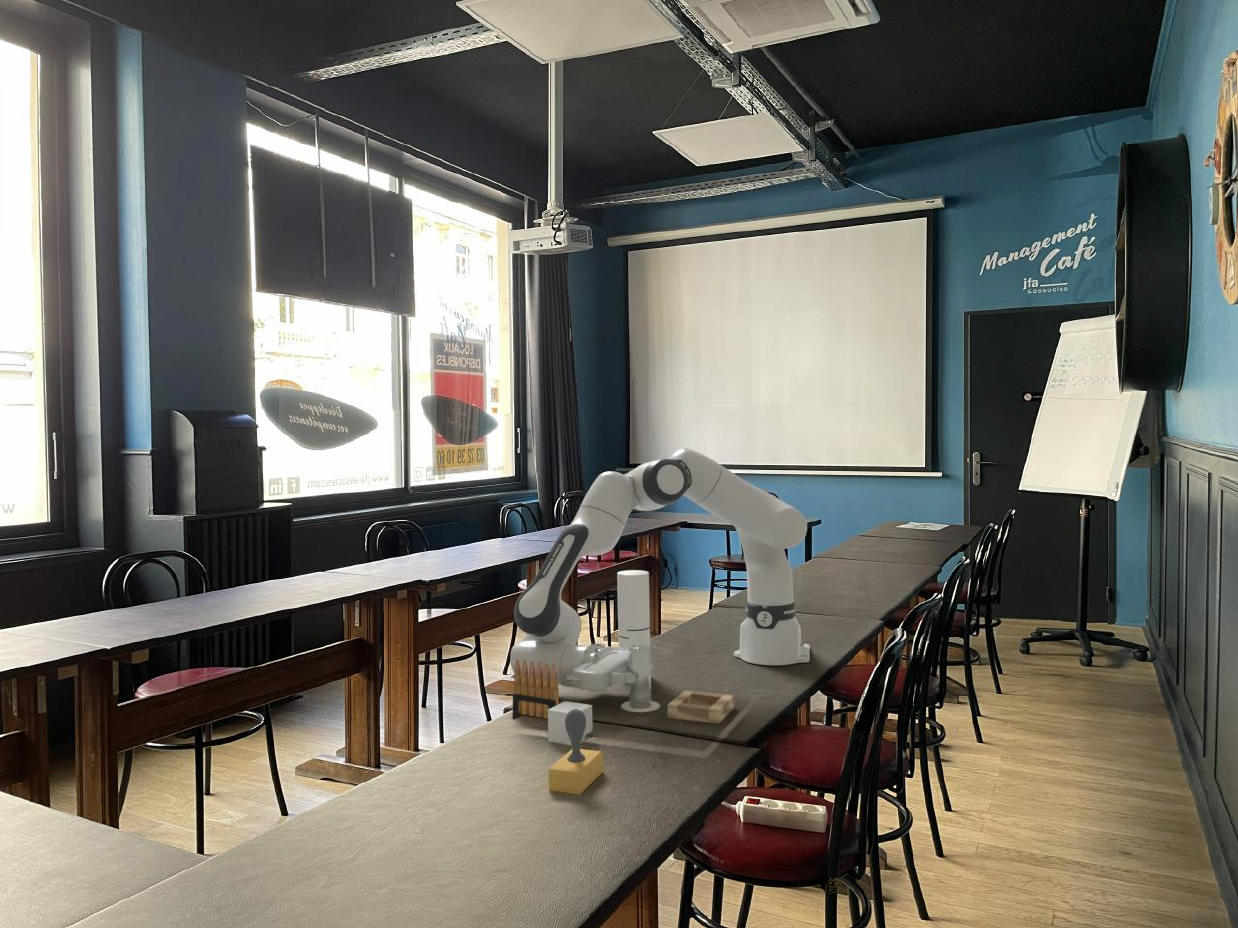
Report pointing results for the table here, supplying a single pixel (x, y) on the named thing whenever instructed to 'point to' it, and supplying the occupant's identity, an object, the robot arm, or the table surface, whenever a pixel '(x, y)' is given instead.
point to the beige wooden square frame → (701, 706)
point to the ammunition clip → (534, 691)
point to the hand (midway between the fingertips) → (643, 672)
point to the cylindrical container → (633, 608)
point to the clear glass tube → (640, 676)
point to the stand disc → (627, 707)
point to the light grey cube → (558, 721)
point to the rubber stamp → (575, 760)
